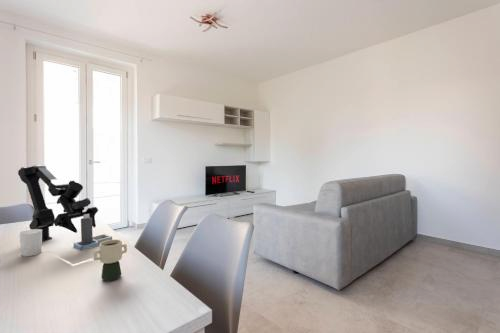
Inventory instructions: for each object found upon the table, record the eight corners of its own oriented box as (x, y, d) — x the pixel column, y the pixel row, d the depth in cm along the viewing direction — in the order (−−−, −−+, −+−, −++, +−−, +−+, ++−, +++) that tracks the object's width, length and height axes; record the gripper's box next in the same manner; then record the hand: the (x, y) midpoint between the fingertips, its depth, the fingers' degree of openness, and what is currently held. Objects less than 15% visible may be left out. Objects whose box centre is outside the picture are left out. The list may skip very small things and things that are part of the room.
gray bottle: (80, 245, 125) (79, 214, 124) (91, 243, 128) (90, 213, 127) (82, 248, 121) (81, 216, 121) (93, 245, 124) (92, 214, 124)
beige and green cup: (123, 270, 100) (123, 236, 100) (131, 276, 95) (130, 241, 94) (91, 280, 92) (90, 243, 92) (97, 287, 87) (96, 249, 87)
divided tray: (71, 247, 125) (70, 242, 125) (104, 238, 138) (104, 233, 138) (81, 251, 119) (81, 246, 119) (115, 242, 132) (114, 237, 132)
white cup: (30, 257, 113) (29, 234, 112) (15, 256, 114) (14, 233, 114) (47, 251, 120) (46, 229, 120) (33, 249, 122) (32, 228, 122)
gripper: (56, 196, 117) (74, 223, 113) (95, 191, 134) (111, 214, 131) (46, 212, 120) (62, 239, 117) (84, 205, 137) (100, 228, 134)
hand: (86, 229), depth 124 cm, fingers open, 9 cm apart
